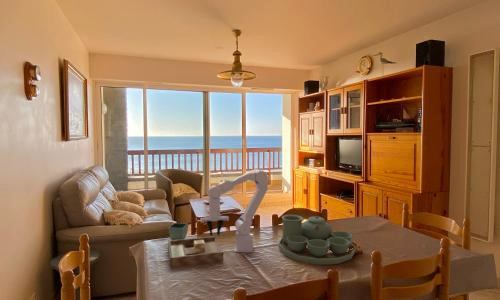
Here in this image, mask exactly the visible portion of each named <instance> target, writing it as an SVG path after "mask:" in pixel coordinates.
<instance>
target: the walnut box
mask: <svg viewBox="0 0 500 300" xmlns="http://www.w3.org/2000/svg"><path fill="white" fill-rule="evenodd" d="M196 240H204V242H205V251H199V252H195V250H194V241H196ZM167 243H168V245H167V247H168V248H167V249H168V258H169V267H170V268H178V267H179V268H180V267H187V266H196V265H203V264H212V263H214V264H215V263H221V262H222V263H223V262H224V252H223V251H221V249H220V247H219V245H218V244H217V242H216V236H215V235H214V236H213V235H212V236H205V237H203V236H202V237H194V238H185V239H180V240H171V239H170V240H168V242H167Z"/></svg>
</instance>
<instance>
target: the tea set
mask: <svg viewBox="0 0 500 300" xmlns="http://www.w3.org/2000/svg"><path fill="white" fill-rule="evenodd" d="M281 219H282V236H281V237H280V240H279V242H278V249H279V250H280V252H282V254H283V256H285V257H288V258H289V259H292V260H294V261H297V262H300V263H305V264H312V265H318V266H320V265H321V266H322V265H324V266H325V265H328V266H329V265H339V263H340V264H342V262H343V263H345V261H346V262H348V260H349V261H351V260H352V258H353V256H354V255H355V253H356V251H355V250H356V246H355V245H354V244H353V243H352V242H351V240H352V238H353V234H352V233H350V232H348V231H344V230H336V231H335V230H334V231H333V230H332V229H333V227H332V226H331V224H329V223H328V222H327V221H326V220H325V218H324V217H321V216H318V215H315V216H310V217H308V218H307V220H305V219H304V218H303V216H302V215H298V214H297V215H296V214H285V215H282V216H281ZM304 220H305V221H304ZM303 221H304V222H303ZM302 222H303V223H302ZM306 245H308V248H309V249H308V248H306ZM329 248H330V249H329ZM348 248H349V251H348V252H346V251H347V249H348ZM352 248H353V250H350V249H352ZM328 249H329V250H331V251H332V252H333V253H327V252H328ZM350 259H351V260H350Z"/></svg>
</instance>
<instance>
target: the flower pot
mask: <svg viewBox="0 0 500 300" xmlns="http://www.w3.org/2000/svg"><path fill="white" fill-rule="evenodd" d="M188 230H189V223H183V222H182V223H181V222H174V223H172V224H171V225H170V226H168V235H169V238H170V240H180V239H186V237H187V234H188Z"/></svg>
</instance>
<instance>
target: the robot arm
mask: <svg viewBox="0 0 500 300" xmlns="http://www.w3.org/2000/svg"><path fill="white" fill-rule="evenodd" d="M248 181H250V182H255V186H256V190H255V192H254V194H253V195H252V197H251V199H250V201H249V203H248V204H247V207H246V209H245V210H244V212H243V214H241V215H240V217H239V218H237V220H236V221H235V223H234V227H235V229H236V231H235V248H234V250H233V251H234V253H253V249H254V233H251V230H252V229H251V228H252V227H251V226H253V218H254V216H255V215H256V212H257V211H258V208H259V207H260V205H261V203H262V200H263V199H264V197H265V195H266V194H267V191H268V187H269V186H268V183H269V176H268V174H267V172H266V171H264V170H260V169H259V168H255V169H252V170H249V171H247V172H246V173H243V174H241V175H240V176H238V177H236V178H234V179H227V178H226V179H224V180H223V181H222V182H220V183H216V184H215V185H211V186H209V188H208V189H207V193H208V195H209V196H208V197H209V200H208V204H209V205H208V216H205V217H200V219H199V220H200V223H201V224H202V223H206V224H207V227H208V230H209V235H210V237H213V223H212V222H216V227H217V229H216V234H217V236H220V233H221V230H222V227H223V224H224V221H226V222H227V221H229V219H230V218H229V216H228V215H221V196H222V195H224V194H226V193H228V192H230V191H232V190H234V189H235V187H236V186H238V185H240V184H243V183H245V182H248Z"/></svg>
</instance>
